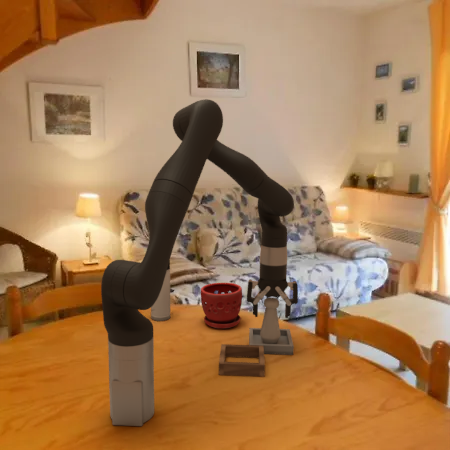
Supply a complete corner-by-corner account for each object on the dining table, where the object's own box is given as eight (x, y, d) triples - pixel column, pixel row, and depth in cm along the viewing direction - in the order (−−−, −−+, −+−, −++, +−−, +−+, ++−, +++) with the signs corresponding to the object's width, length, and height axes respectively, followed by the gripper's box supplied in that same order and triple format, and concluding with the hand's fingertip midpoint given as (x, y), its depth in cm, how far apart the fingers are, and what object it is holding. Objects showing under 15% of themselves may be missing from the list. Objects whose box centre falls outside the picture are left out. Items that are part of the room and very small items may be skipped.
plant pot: (233, 314, 159) (234, 279, 157) (247, 328, 147) (248, 291, 145) (195, 318, 155) (196, 283, 153) (207, 333, 143) (207, 295, 141)
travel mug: (148, 320, 152) (147, 260, 149) (154, 313, 159) (153, 255, 155) (166, 322, 151) (166, 261, 148) (172, 315, 158) (172, 256, 154)
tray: (293, 354, 130) (293, 346, 129) (249, 353, 130) (249, 344, 130) (289, 337, 141) (289, 329, 141) (249, 335, 142) (249, 327, 142)
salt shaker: (278, 347, 132) (280, 303, 130) (258, 345, 133) (260, 301, 131) (281, 339, 138) (282, 296, 136) (261, 337, 139) (263, 294, 137)
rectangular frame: (264, 376, 118) (264, 365, 117) (218, 374, 118) (218, 363, 118) (263, 355, 129) (263, 345, 128) (221, 354, 129) (221, 344, 129)
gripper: (247, 263, 128) (246, 320, 131) (300, 265, 127) (298, 322, 130) (247, 257, 135) (246, 311, 138) (297, 258, 135) (295, 313, 138)
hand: (271, 316), depth 134 cm, fingers open, 8 cm apart
